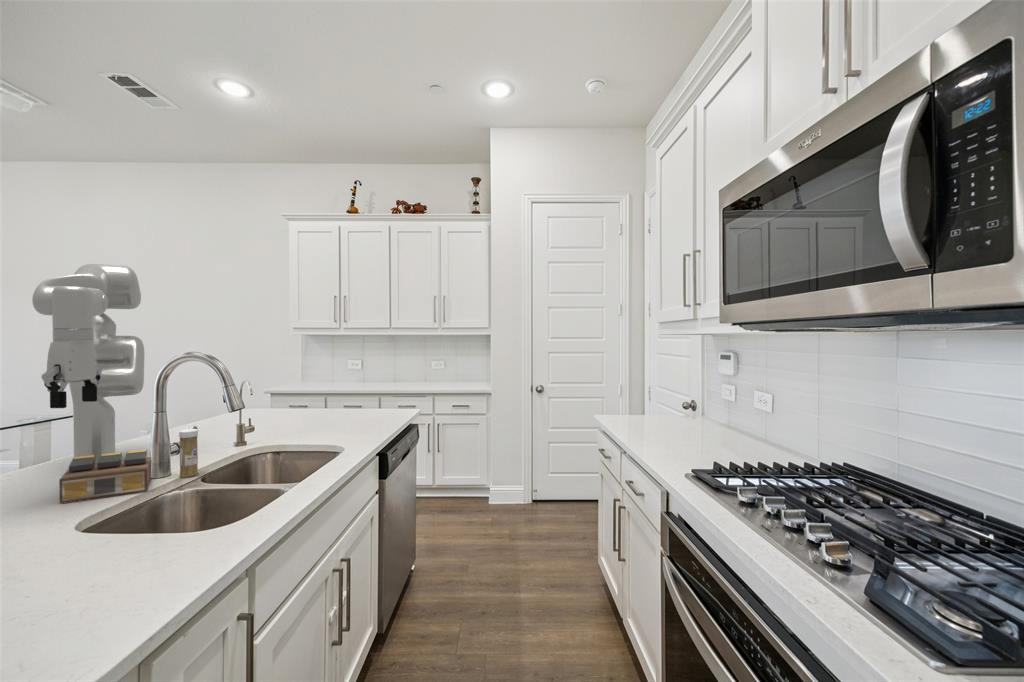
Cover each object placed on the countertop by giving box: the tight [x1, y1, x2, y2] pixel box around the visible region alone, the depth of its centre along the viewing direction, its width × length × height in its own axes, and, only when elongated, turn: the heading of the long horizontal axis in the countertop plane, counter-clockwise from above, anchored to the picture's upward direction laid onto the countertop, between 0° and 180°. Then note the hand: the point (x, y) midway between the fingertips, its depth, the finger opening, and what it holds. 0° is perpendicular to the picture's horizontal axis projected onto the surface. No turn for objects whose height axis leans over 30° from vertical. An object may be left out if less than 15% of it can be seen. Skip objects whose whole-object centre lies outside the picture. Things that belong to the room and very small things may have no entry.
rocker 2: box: [97, 451, 123, 468], centre depth 128 cm, size 6×4×2 cm
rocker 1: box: [68, 455, 96, 472], centre depth 125 cm, size 6×4×2 cm
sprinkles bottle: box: [178, 428, 199, 478], centre depth 140 cm, size 5×5×14 cm
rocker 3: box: [123, 449, 148, 465], centre depth 131 cm, size 6×4×2 cm
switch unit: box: [58, 456, 152, 504], centre depth 127 cm, size 14×17×6 cm
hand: (74, 404), depth 119 cm, fingers open, 9 cm apart
